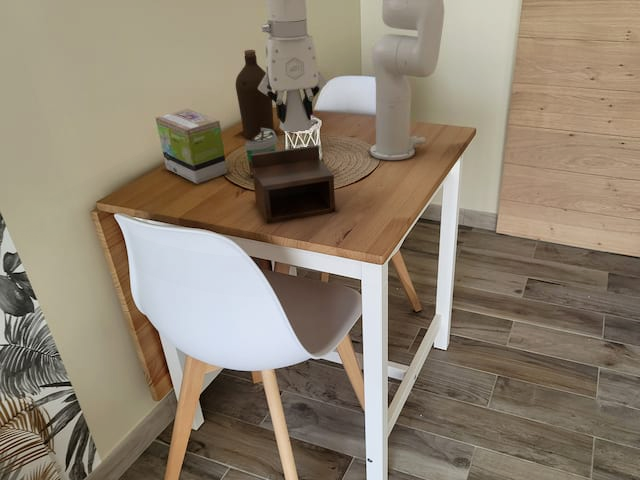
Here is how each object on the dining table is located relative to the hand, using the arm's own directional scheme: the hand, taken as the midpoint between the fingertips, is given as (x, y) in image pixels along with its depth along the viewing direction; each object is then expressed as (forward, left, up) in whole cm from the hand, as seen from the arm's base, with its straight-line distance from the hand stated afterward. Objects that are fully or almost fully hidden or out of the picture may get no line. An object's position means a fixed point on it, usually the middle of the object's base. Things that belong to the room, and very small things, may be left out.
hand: (295, 119), depth 123 cm
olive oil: (-1, -56, -21) cm, 59 cm away
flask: (0, 0, -2) cm, 2 cm away
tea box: (+21, -32, -21) cm, 43 cm away
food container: (+3, -25, -21) cm, 32 cm away
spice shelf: (+2, -1, -21) cm, 21 cm away
